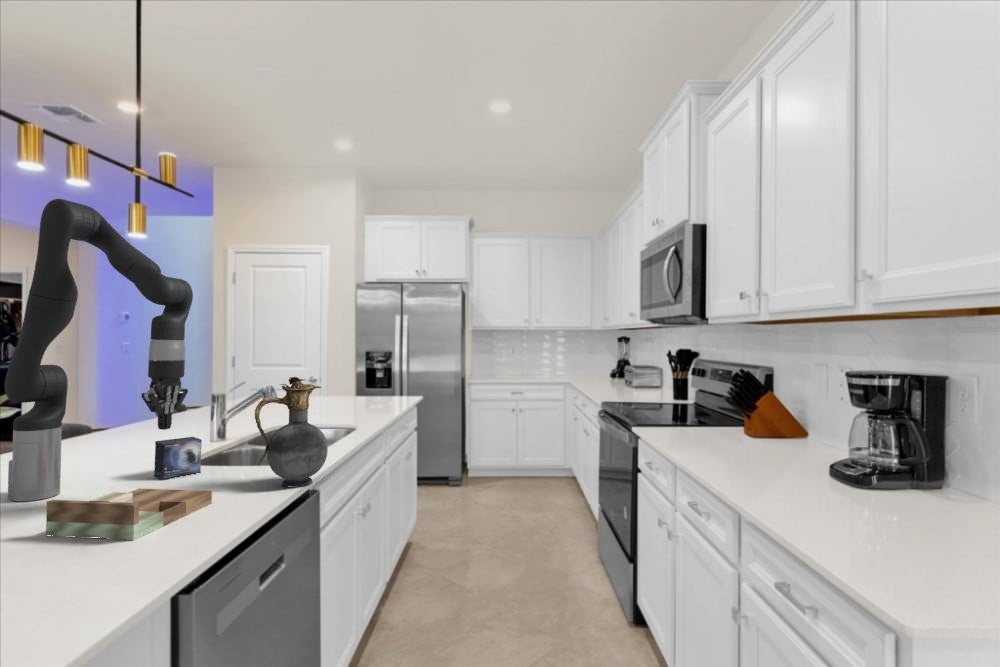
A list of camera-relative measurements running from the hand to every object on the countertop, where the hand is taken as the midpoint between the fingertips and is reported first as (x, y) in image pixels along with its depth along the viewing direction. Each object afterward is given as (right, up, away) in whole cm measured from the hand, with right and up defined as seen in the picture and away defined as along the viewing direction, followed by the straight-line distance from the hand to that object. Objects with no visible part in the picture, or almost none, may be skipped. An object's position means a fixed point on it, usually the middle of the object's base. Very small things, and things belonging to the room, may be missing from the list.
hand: (164, 428), depth 127 cm
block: (+1, -15, -19) cm, 24 cm away
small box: (-13, -19, +26) cm, 35 cm away
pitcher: (+24, -19, +17) cm, 35 cm away
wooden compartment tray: (+1, -18, -11) cm, 21 cm away
